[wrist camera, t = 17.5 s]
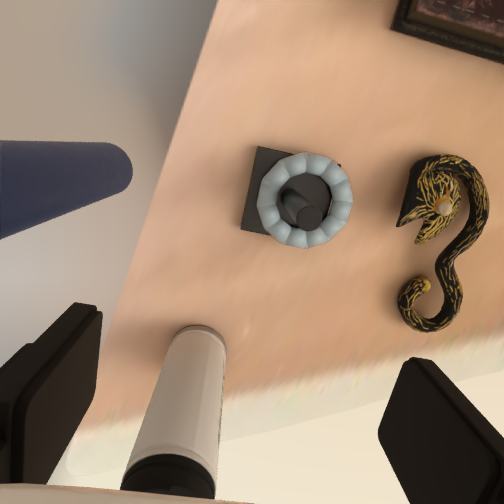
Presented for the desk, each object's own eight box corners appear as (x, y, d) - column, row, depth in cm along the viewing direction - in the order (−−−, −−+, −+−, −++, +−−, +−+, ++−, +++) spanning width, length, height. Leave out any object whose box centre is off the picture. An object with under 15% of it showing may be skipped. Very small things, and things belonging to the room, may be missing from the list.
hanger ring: (248, 234, 34) (249, 239, 33) (268, 143, 32) (270, 143, 30) (334, 252, 35) (339, 257, 33) (360, 164, 33) (366, 165, 31)
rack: (240, 227, 35) (240, 262, 25) (257, 146, 33) (265, 146, 22) (316, 242, 36) (348, 282, 25) (338, 164, 34) (382, 173, 23)
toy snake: (460, 354, 34) (362, 330, 34) (438, 332, 39) (351, 310, 39) (541, 172, 30) (429, 143, 30) (505, 171, 34) (408, 146, 34)
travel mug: (158, 359, 39) (80, 562, 20) (187, 314, 38) (133, 487, 19) (206, 383, 40) (175, 597, 21) (237, 341, 39) (232, 530, 20)
